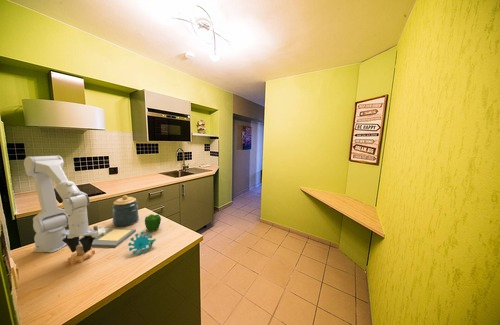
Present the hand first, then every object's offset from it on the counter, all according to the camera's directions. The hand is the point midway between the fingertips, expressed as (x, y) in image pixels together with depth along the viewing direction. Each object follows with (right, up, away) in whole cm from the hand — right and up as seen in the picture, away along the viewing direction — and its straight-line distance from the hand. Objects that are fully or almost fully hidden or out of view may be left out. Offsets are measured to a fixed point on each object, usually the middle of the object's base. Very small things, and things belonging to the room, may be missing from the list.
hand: (81, 250), depth 70 cm
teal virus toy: (+23, -3, +7) cm, 24 cm away
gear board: (-2, -1, +14) cm, 14 cm away
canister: (-4, +1, +31) cm, 31 cm away
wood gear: (0, -3, 0) cm, 3 cm away
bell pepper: (+17, -1, +24) cm, 30 cm away
